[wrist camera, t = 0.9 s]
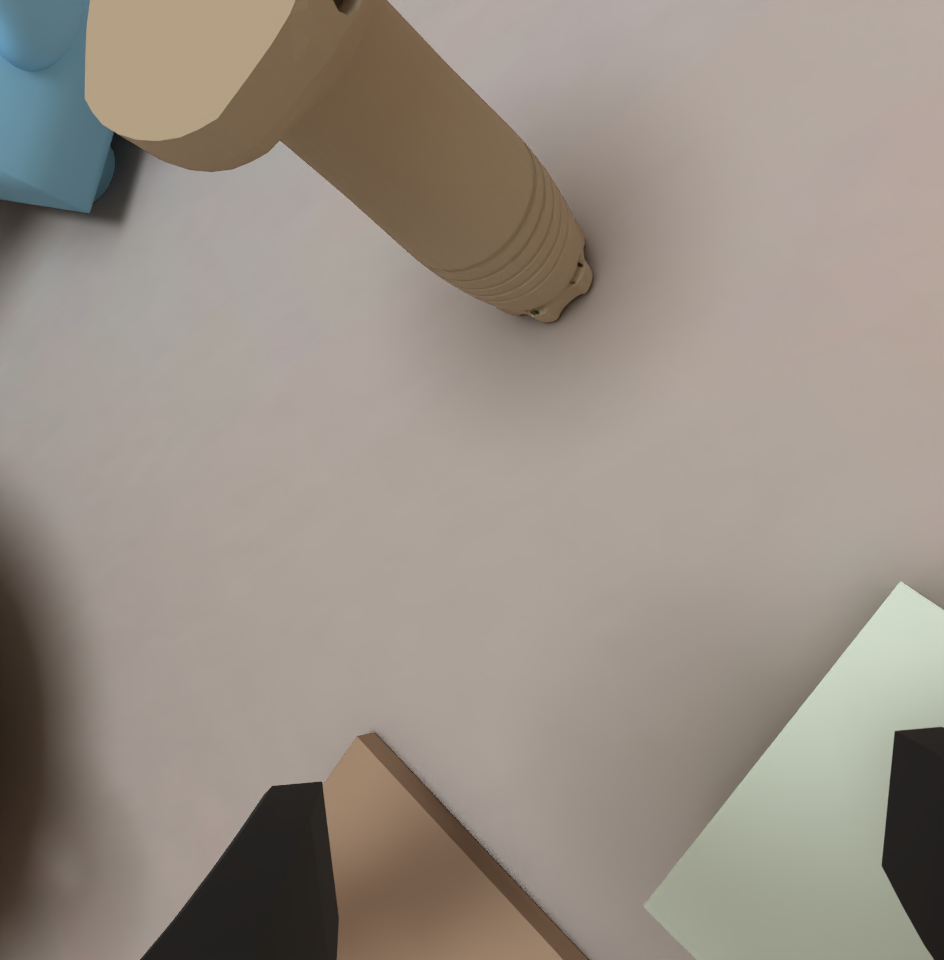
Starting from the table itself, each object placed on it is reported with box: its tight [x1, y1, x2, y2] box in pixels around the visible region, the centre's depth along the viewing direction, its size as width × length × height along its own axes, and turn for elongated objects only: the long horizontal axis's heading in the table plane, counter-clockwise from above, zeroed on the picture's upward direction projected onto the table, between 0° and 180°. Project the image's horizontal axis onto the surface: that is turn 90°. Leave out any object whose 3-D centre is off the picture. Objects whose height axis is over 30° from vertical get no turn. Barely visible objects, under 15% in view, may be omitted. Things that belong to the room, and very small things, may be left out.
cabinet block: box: [643, 581, 944, 960], centre depth 18 cm, size 5×8×6 cm, turn 141°
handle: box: [85, 0, 593, 323], centre depth 20 cm, size 5×6×15 cm
